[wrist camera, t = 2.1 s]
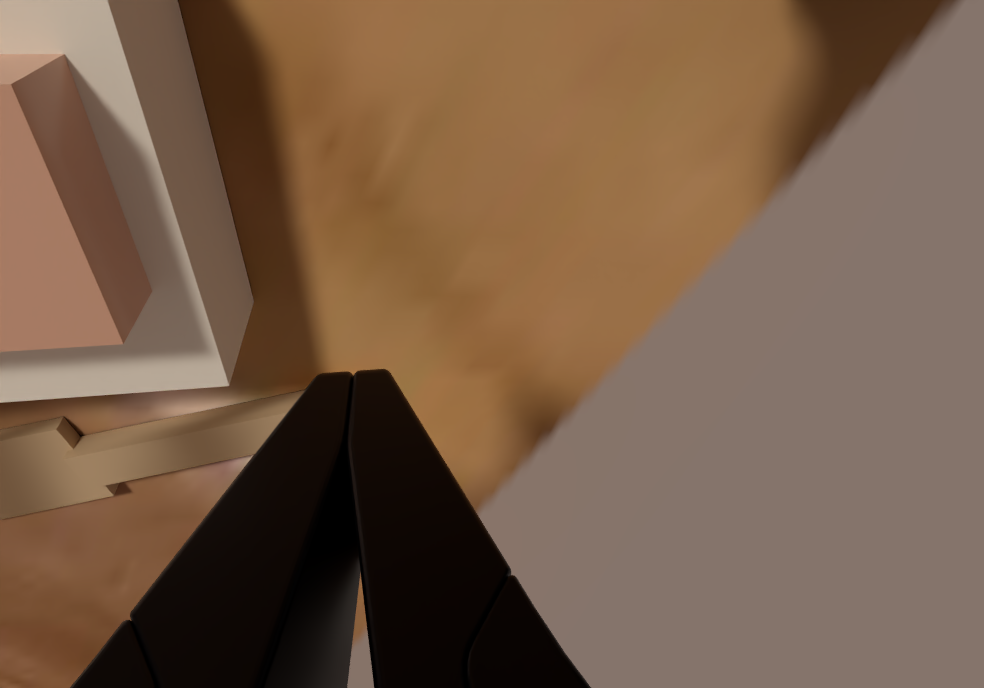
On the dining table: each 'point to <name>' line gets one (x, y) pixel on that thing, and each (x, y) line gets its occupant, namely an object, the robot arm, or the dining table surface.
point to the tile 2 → (59, 218)
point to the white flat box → (143, 200)
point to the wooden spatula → (124, 452)
